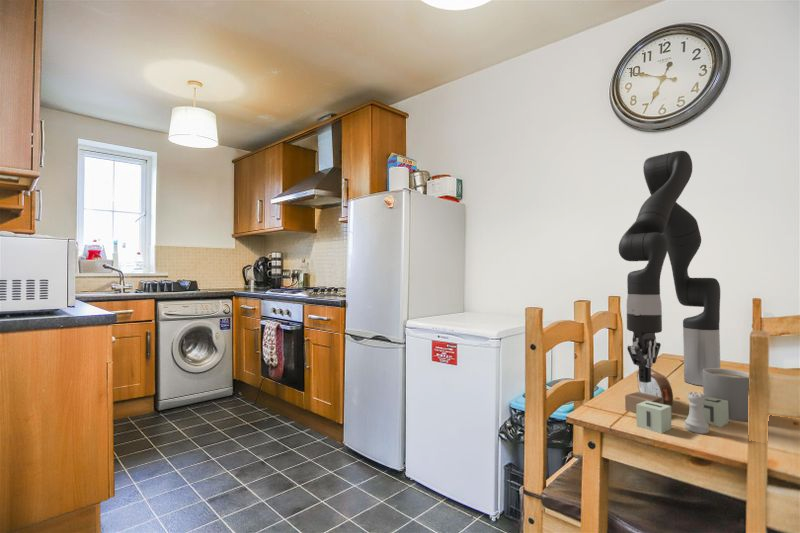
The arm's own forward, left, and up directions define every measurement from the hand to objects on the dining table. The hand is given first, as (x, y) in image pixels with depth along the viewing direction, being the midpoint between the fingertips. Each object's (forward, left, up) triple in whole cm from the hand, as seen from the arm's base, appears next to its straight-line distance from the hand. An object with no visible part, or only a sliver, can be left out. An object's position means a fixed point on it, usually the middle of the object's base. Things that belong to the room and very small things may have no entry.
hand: (644, 381), depth 100 cm
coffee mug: (-17, +12, -8) cm, 22 cm away
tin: (-9, -2, -8) cm, 12 cm away
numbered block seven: (-5, +12, -7) cm, 15 cm away
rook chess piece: (+4, +12, -8) cm, 15 cm away
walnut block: (0, 0, -8) cm, 8 cm away
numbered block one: (+10, +6, -7) cm, 14 cm away
